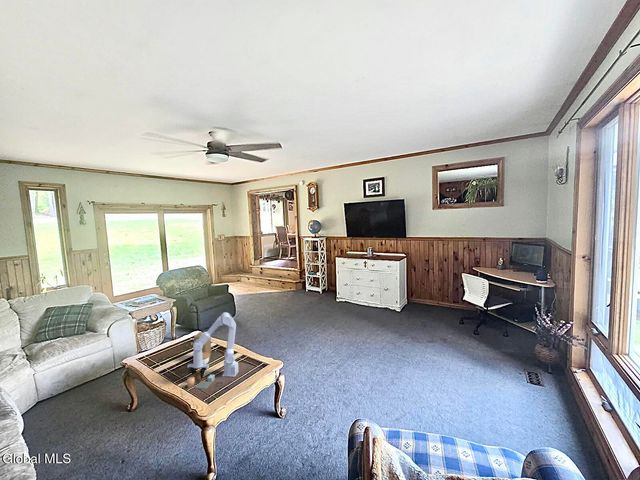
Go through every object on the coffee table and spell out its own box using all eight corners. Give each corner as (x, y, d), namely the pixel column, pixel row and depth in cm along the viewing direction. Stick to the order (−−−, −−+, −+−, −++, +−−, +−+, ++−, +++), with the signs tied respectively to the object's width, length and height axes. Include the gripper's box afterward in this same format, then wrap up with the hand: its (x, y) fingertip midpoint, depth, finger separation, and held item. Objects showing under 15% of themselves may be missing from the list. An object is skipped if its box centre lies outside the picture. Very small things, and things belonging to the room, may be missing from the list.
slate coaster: (212, 382, 191) (212, 381, 191) (206, 389, 183) (206, 388, 183) (201, 381, 192) (201, 381, 192) (194, 388, 184) (194, 387, 184)
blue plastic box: (214, 379, 196) (214, 374, 196) (211, 382, 192) (211, 377, 192) (210, 378, 196) (210, 374, 196) (207, 381, 192) (207, 377, 192)
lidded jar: (193, 369, 208) (193, 357, 208) (195, 362, 219) (195, 351, 218) (208, 367, 211) (208, 355, 211) (210, 361, 222) (210, 349, 221)
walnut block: (203, 378, 197) (203, 371, 196) (199, 382, 192) (199, 375, 192) (196, 377, 197) (196, 370, 197) (193, 381, 192) (192, 374, 192)
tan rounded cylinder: (195, 384, 189) (195, 377, 189) (192, 388, 185) (192, 380, 184) (189, 384, 190) (189, 376, 189) (186, 387, 185) (185, 380, 185)
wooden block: (211, 355, 231) (211, 332, 230) (206, 361, 221) (205, 336, 220) (199, 355, 231) (199, 331, 230) (193, 361, 221) (193, 336, 220)
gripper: (210, 356, 197) (211, 375, 198) (191, 355, 198) (191, 374, 199) (205, 361, 190) (206, 380, 191) (185, 360, 191) (185, 379, 192)
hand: (198, 377), depth 194 cm, fingers closed on walnut block, 5 cm apart
